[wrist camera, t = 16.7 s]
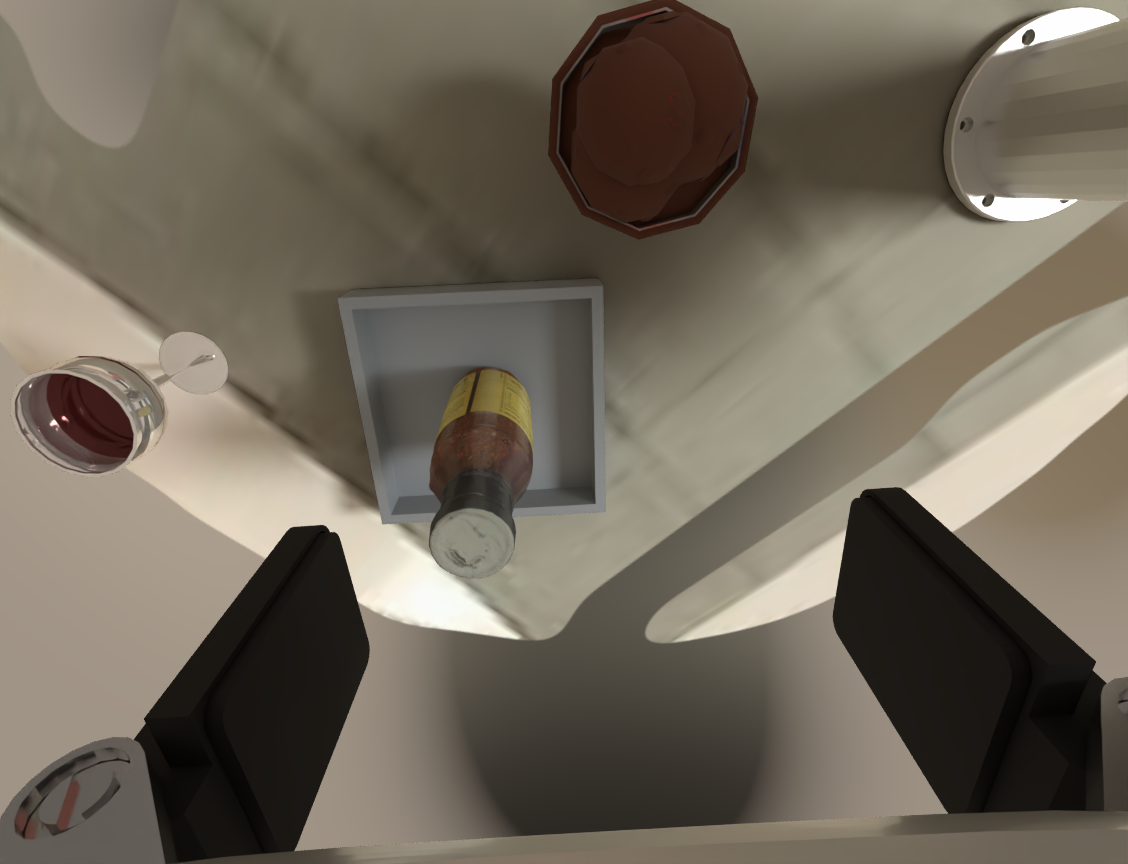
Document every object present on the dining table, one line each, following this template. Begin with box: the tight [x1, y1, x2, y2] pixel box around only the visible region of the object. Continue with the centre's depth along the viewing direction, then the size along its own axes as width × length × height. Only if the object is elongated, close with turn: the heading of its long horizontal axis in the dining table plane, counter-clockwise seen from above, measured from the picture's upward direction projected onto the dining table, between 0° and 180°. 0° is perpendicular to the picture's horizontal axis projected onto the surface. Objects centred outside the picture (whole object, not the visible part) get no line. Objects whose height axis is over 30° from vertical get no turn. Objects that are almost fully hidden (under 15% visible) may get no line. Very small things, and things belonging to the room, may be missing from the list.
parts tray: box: [337, 278, 606, 524], centre depth 43 cm, size 18×18×4 cm
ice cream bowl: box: [548, 0, 758, 239], centre depth 31 cm, size 11×11×15 cm
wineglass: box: [11, 332, 228, 477], centre depth 37 cm, size 7×7×12 cm
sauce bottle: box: [429, 367, 533, 579], centre depth 35 cm, size 6×6×20 cm
